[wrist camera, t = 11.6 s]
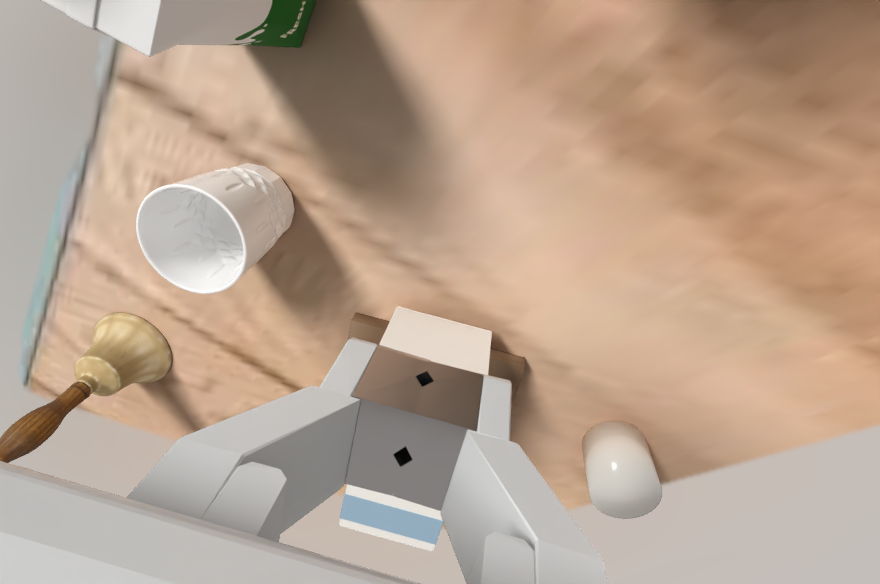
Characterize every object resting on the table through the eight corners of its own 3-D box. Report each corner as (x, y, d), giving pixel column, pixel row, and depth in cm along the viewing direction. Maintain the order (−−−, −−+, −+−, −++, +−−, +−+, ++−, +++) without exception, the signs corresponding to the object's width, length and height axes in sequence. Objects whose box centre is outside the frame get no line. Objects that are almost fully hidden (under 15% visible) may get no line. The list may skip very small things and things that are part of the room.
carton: (487, 390, 37) (433, 552, 45) (492, 331, 44) (445, 478, 52) (371, 358, 37) (338, 525, 45) (396, 305, 45) (364, 456, 53)
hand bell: (168, 320, 50) (31, 428, 36) (175, 388, 54) (53, 510, 40) (89, 304, 51) (-78, 404, 37) (101, 372, 55) (-46, 487, 40)
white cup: (264, 262, 46) (203, 314, 37) (196, 197, 44) (114, 235, 35) (320, 207, 43) (269, 249, 34) (249, 135, 41) (175, 159, 32)
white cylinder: (657, 431, 48) (674, 479, 43) (630, 475, 51) (643, 526, 46) (596, 413, 48) (606, 458, 43) (572, 458, 51) (579, 506, 46)
